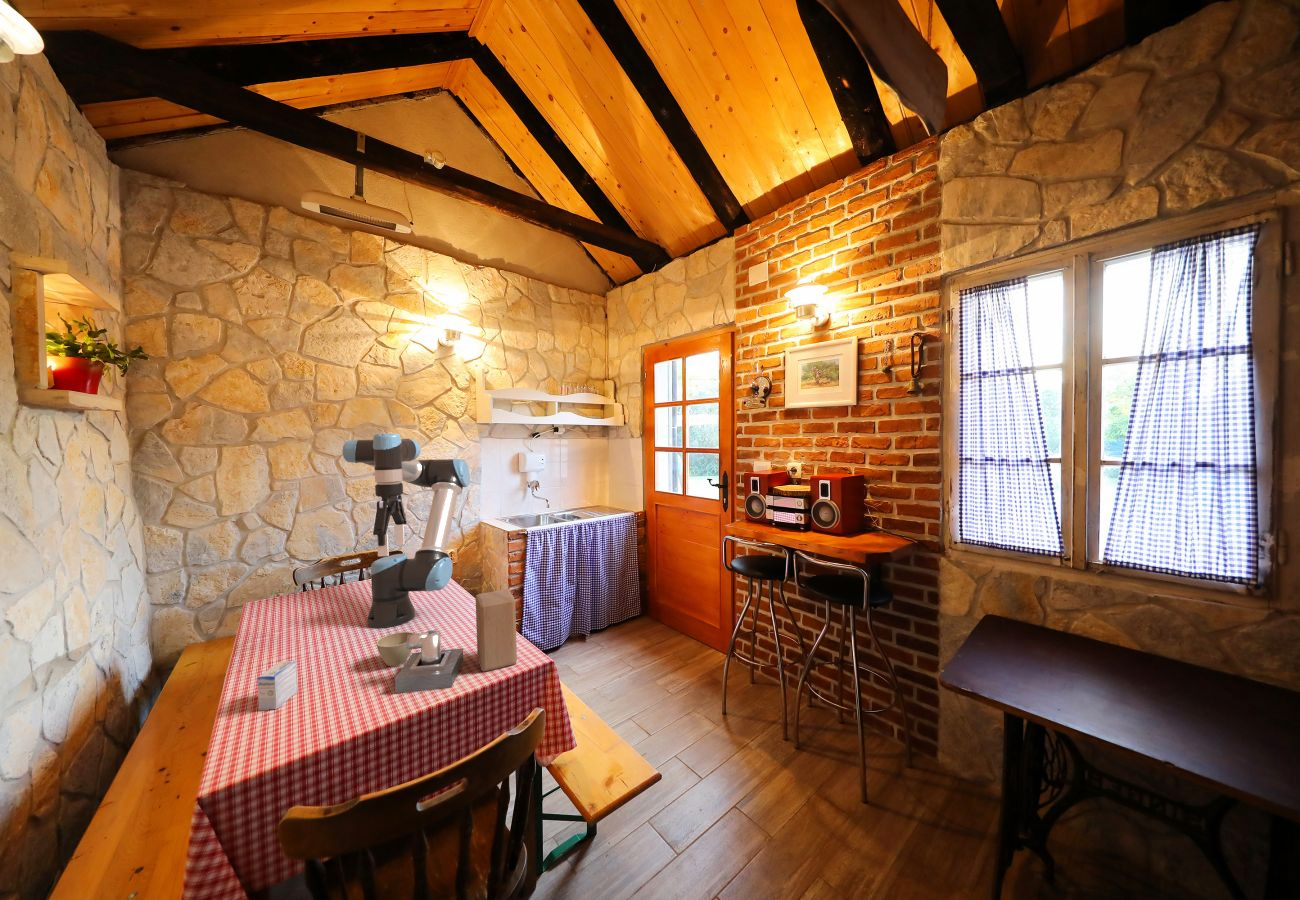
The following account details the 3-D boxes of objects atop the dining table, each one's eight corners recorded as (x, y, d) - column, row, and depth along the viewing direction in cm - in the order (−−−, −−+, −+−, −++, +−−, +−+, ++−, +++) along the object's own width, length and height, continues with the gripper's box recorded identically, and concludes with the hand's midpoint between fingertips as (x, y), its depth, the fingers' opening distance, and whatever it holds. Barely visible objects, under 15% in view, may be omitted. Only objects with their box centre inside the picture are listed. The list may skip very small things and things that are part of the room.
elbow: (443, 670, 132) (442, 628, 131) (439, 679, 127) (437, 635, 127) (413, 673, 131) (411, 630, 130) (407, 683, 126) (405, 638, 125)
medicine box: (280, 693, 122) (279, 661, 122) (298, 691, 122) (297, 660, 122) (258, 711, 114) (256, 677, 114) (277, 709, 115) (275, 676, 114)
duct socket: (413, 666, 135) (412, 650, 134) (463, 661, 137) (462, 645, 137) (395, 693, 121) (394, 675, 121) (451, 687, 123) (451, 669, 123)
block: (481, 673, 130) (479, 604, 129) (477, 658, 139) (474, 593, 138) (517, 664, 135) (515, 597, 134) (511, 650, 144) (509, 587, 143)
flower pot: (399, 672, 131) (398, 648, 131) (369, 669, 134) (368, 645, 133) (423, 655, 141) (422, 632, 141) (395, 652, 143) (394, 630, 143)
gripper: (391, 479, 155) (393, 541, 156) (357, 488, 130) (361, 562, 131) (414, 478, 156) (417, 539, 157) (386, 487, 132) (389, 560, 133)
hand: (391, 550), depth 144 cm, fingers open, 13 cm apart
